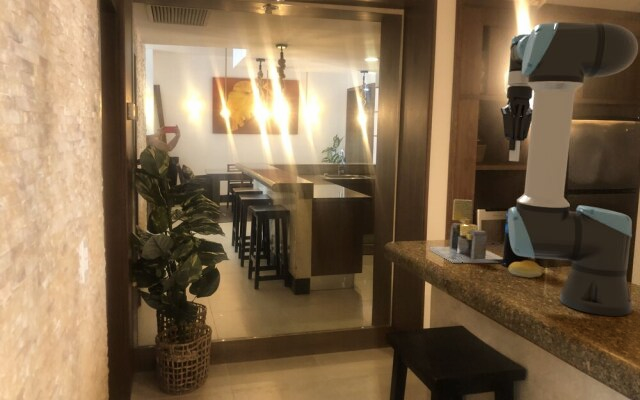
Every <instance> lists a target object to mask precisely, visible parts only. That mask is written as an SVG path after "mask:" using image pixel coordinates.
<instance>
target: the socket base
mask: <svg viewBox="0 0 640 400" xmlns="http://www.w3.org/2000/svg"><path fill="white" fill-rule="evenodd" d="M460 224H463V223H462V222H460V223H459V222H458V223H456V222H454V223H451V226H450V234H449V235H450V236H449V246H430V248H429V251H430V252H433V253H434V254H435V253H436V254H435V255H437V254H438V255H437V256H439V255H440V256H439V257H441V256H442V257H441V258H442V259H444V258H445V260H446V259H447V260H446V261H448V260H449V261H448V262H450V261H451V262H452V263H451V262H450V263H451V264H502V262H503V256H500V255H497V254H496V253H494V252H491V251H490V250H489V251H488V250H487V242H488V235H487V232H486V231H485V230H480V229H479V230H470V234H472V235H473V239H472V240H469V239H467V238H464V237H460V232H459V230H460ZM462 262H463V263H462Z"/></svg>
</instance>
